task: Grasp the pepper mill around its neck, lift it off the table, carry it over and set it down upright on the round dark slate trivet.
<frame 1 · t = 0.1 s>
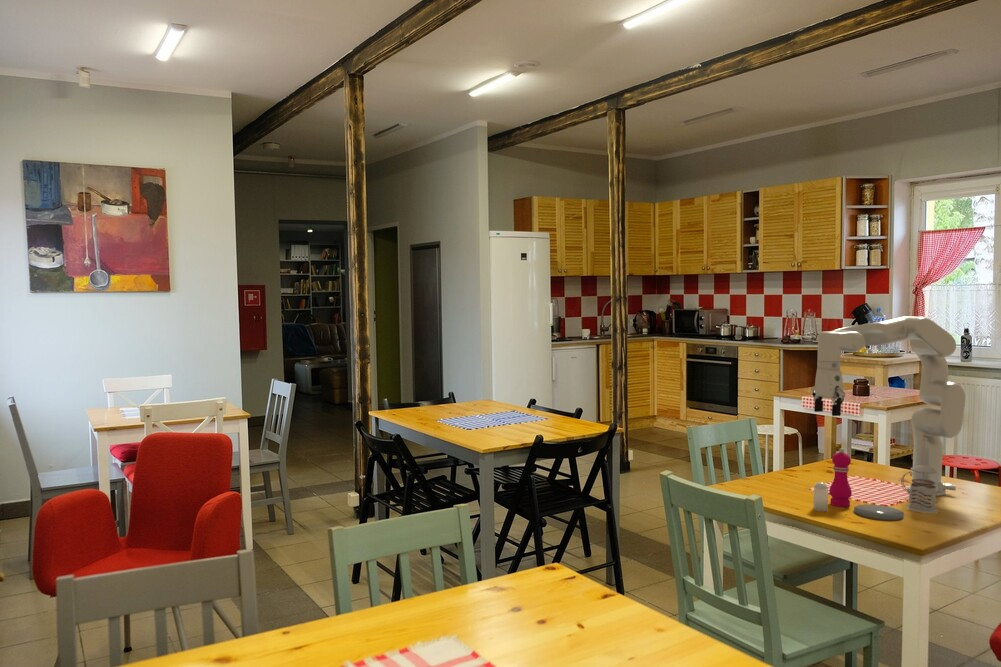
hand: (827, 413, 274), 31 cm above the table, tool pointing down, fingers open, 9 cm apart
slate trivet: (878, 514, 258), on the table
pepper mill: (840, 505, 269), on the table
salt shaker: (820, 509, 263), on the table
french press: (919, 509, 265), on the table
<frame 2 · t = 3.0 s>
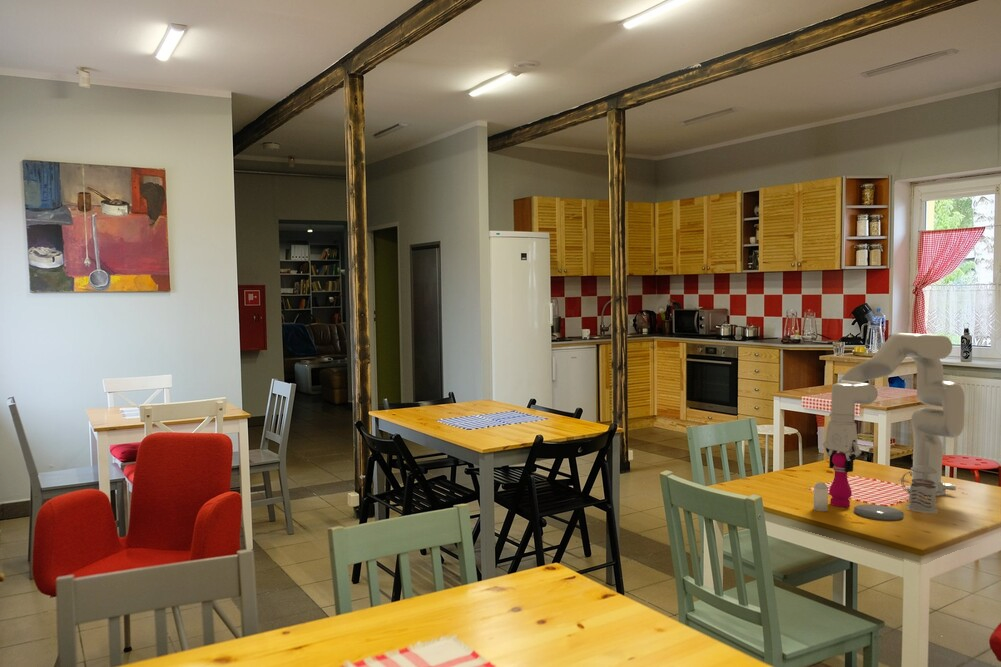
hand: (841, 469, 269), 13 cm above the table, tool pointing down, fingers closed on pepper mill, 6 cm apart
pepper mill: (840, 505, 269), on the table, touching gripper
everything else where it was.
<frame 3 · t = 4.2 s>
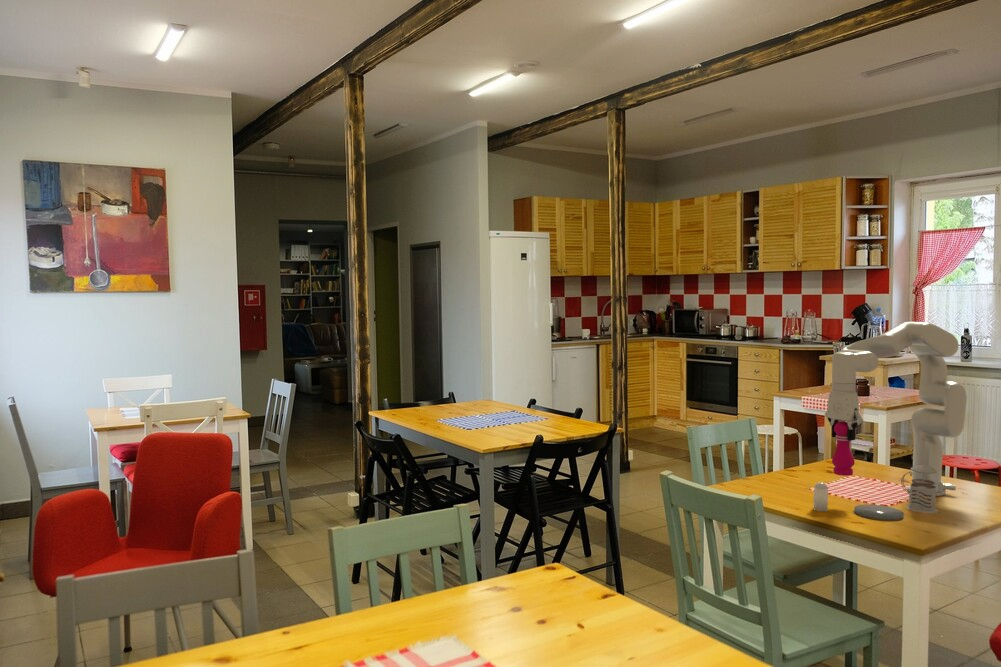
hand: (843, 438, 269), 24 cm above the table, tool pointing down, fingers closed on pepper mill, 6 cm apart
pepper mill: (843, 474, 269), point 11 cm above the table, touching gripper
everything else where it was.
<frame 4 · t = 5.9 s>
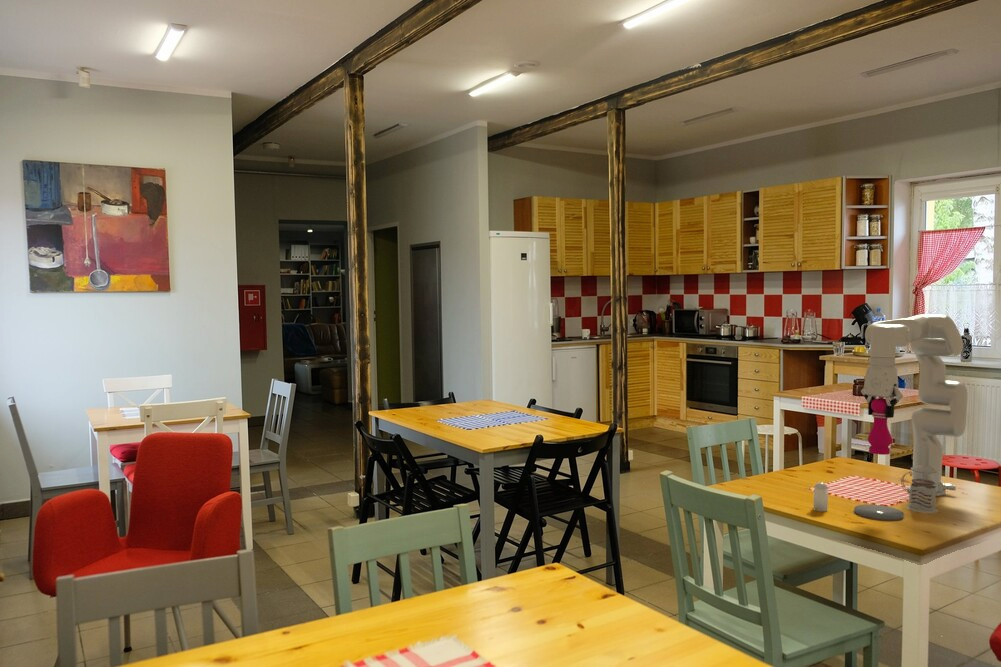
hand: (880, 415, 257), 33 cm above the table, tool pointing down, fingers closed on pepper mill, 6 cm apart
pepper mill: (879, 453, 257), point 21 cm above the table, touching gripper
everything else where it was.
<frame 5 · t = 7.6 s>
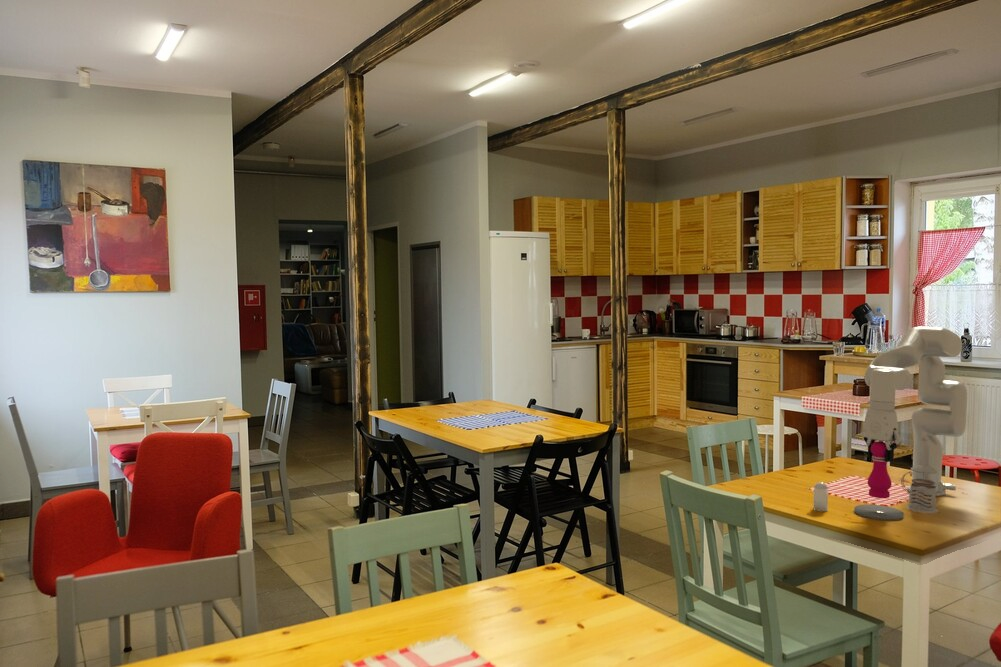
hand: (880, 458, 257), 19 cm above the table, tool pointing down, fingers closed on pepper mill, 6 cm apart
pepper mill: (879, 496, 258), point 6 cm above the table, touching gripper
everything else where it was.
when the fingers open (15 cm above the table, at t = 8.8 s): pepper mill drops 1 cm, resting on slate trivet.
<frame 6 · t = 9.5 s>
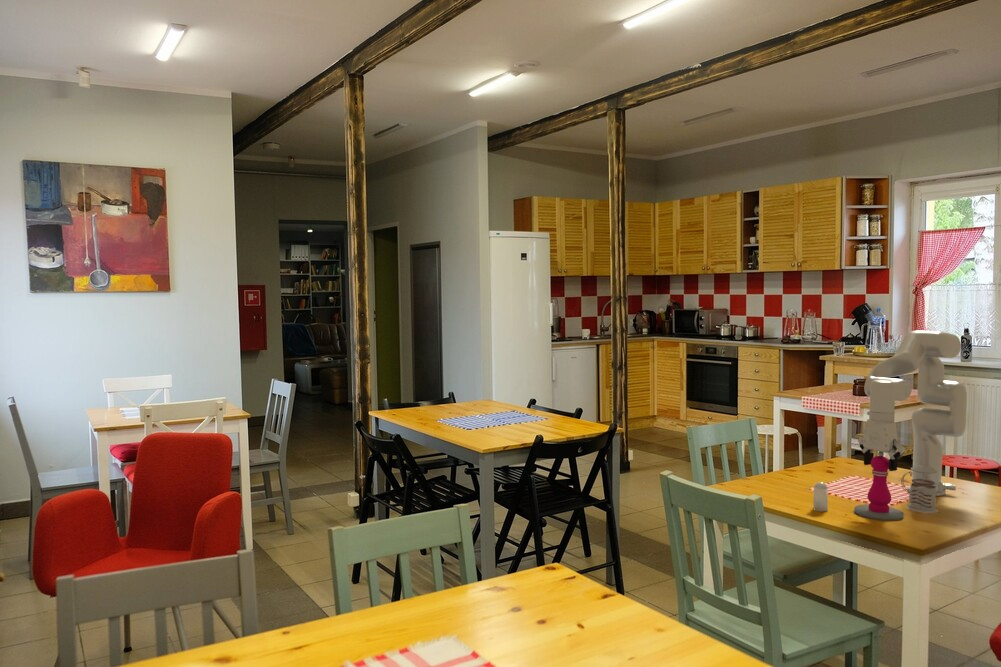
hand: (880, 467, 257), 16 cm above the table, tool pointing down, fingers open, 9 cm apart
pepper mill: (878, 510, 258), point 1 cm above the table, touching slate trivet
everything else where it was.
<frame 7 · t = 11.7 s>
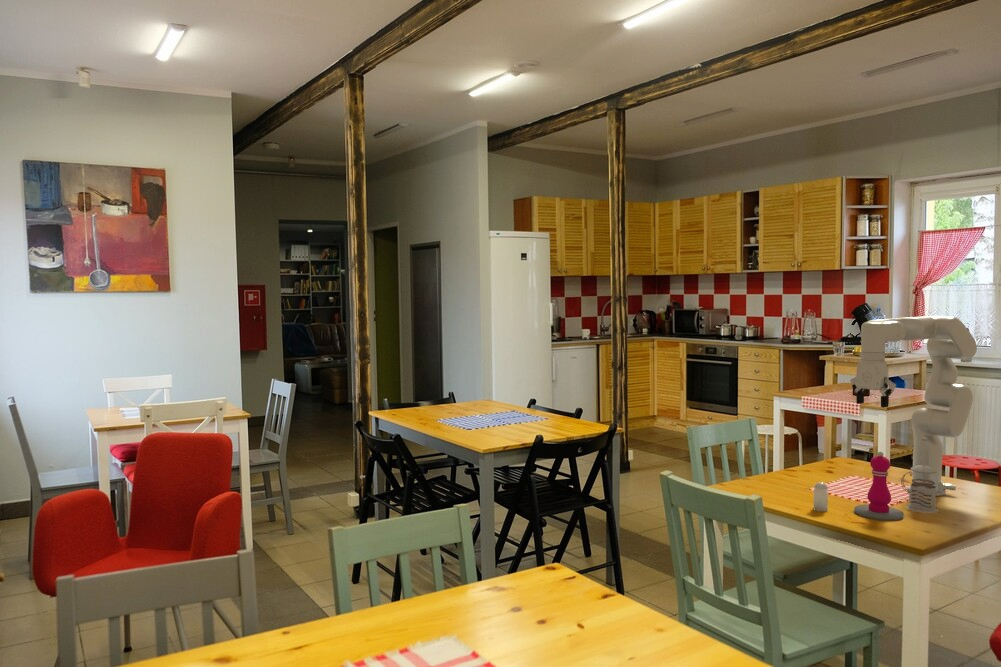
hand: (872, 405, 270), 35 cm above the table, tool pointing down, fingers open, 9 cm apart
nothing on the table moved.
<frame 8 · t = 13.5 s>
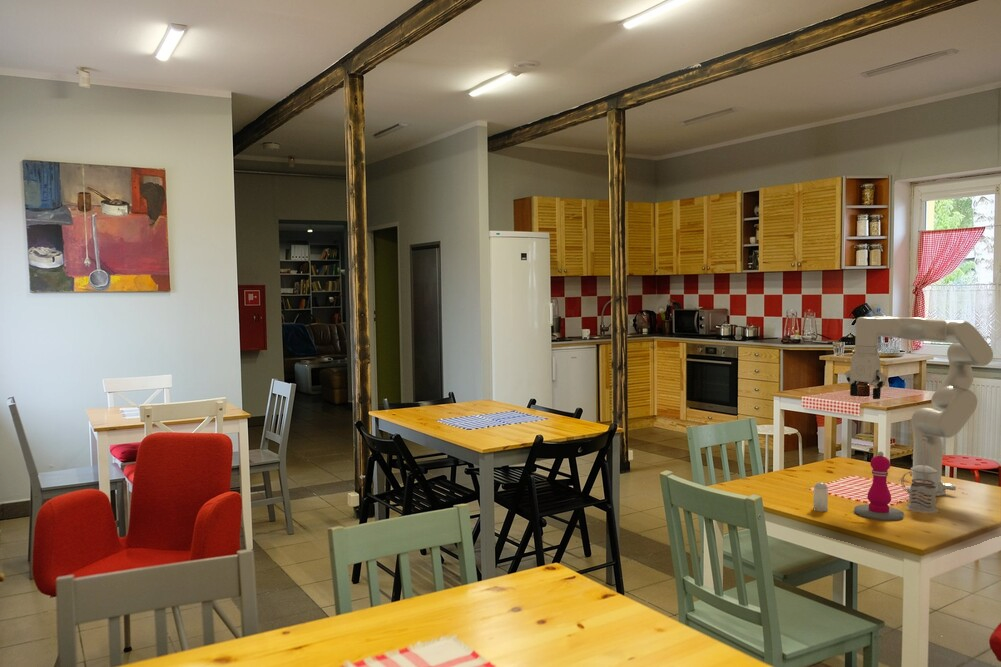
hand: (864, 397, 281), 36 cm above the table, tool pointing down, fingers open, 9 cm apart
nothing on the table moved.
at the end: pepper mill inside the target area on the slate trivet (0.2 cm from its centre), point 1.0 cm above the slate trivet's base; pepper mill tilted 0°; the gripper is holding nothing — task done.
